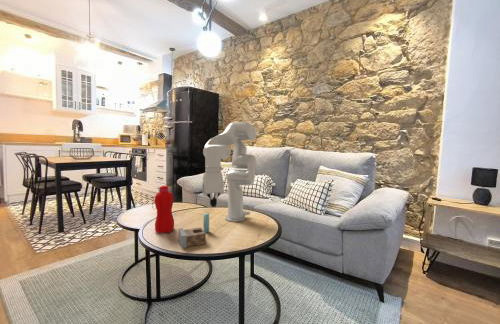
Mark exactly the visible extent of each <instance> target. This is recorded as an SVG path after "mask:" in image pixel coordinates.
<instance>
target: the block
mask: <svg viewBox="0 0 500 324" xmlns="http://www.w3.org/2000/svg"><path fill="white" fill-rule="evenodd" d="M183 230H184V232H185V234H186V237H187V248H189V247H193V246H199V245H204V244H207V243H206V242H207V239H206V238H207V236H206V235H207V233H205V232H204V228H202V227H195V228H189V229H188V228H187V229H186V228H185V229H183Z"/></svg>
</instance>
